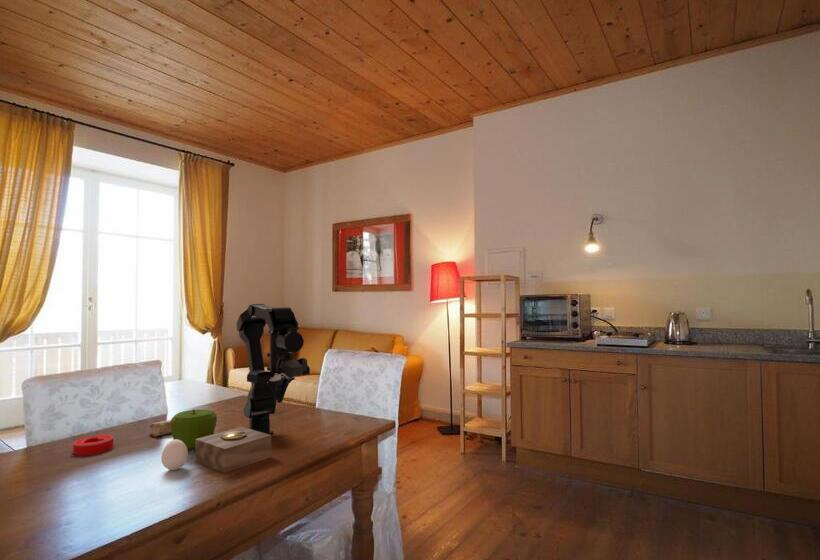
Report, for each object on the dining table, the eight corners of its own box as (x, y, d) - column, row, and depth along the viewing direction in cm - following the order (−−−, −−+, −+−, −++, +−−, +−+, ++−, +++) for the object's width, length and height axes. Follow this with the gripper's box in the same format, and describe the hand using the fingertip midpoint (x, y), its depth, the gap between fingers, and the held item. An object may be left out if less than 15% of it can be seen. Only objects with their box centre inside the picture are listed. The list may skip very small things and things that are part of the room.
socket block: (195, 461, 122) (195, 439, 122) (241, 447, 133) (241, 426, 133) (224, 473, 113) (224, 448, 113) (271, 456, 124) (271, 434, 125)
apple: (223, 446, 134) (223, 408, 134) (180, 457, 125) (180, 416, 125) (205, 438, 142) (206, 402, 143) (164, 447, 133) (164, 409, 134)
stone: (146, 433, 148) (147, 419, 148) (181, 427, 155) (181, 414, 155) (152, 439, 142) (153, 425, 142) (188, 433, 149) (188, 419, 149)
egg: (183, 463, 120) (183, 434, 121) (191, 469, 116) (191, 439, 116) (158, 469, 116) (158, 439, 116) (165, 476, 112) (165, 445, 112)
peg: (217, 458, 122) (217, 435, 123) (237, 452, 127) (237, 429, 127) (229, 463, 119) (230, 438, 119) (249, 456, 124) (249, 433, 124)
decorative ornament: (64, 456, 128) (64, 444, 128) (89, 444, 138) (90, 434, 138) (97, 456, 128) (97, 444, 128) (120, 444, 137) (120, 434, 137)
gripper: (269, 354, 122) (269, 413, 121) (322, 348, 137) (322, 400, 136) (245, 352, 128) (245, 407, 128) (298, 346, 143) (298, 395, 143)
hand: (279, 402), depth 133 cm, fingers closed
